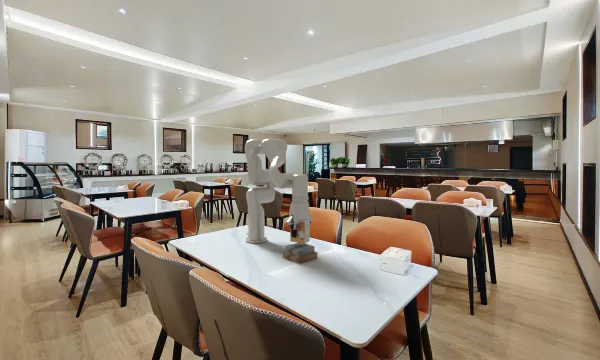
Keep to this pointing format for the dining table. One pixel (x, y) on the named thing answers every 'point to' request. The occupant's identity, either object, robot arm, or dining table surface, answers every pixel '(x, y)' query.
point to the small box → (302, 232)
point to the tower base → (302, 260)
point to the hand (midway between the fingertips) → (299, 235)
